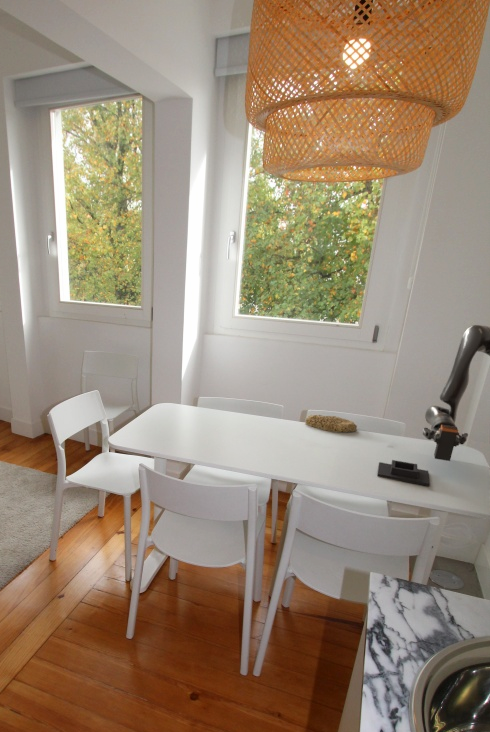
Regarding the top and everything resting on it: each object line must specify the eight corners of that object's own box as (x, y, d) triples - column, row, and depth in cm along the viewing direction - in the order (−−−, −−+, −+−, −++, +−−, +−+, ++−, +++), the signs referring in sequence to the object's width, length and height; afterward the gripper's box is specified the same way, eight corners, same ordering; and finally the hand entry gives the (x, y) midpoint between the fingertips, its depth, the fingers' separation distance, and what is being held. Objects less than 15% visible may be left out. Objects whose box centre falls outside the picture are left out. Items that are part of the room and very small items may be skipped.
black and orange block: (449, 456, 162) (456, 426, 158) (450, 461, 159) (458, 430, 155) (433, 454, 164) (441, 424, 160) (434, 458, 161) (442, 428, 157)
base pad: (427, 473, 168) (429, 464, 167) (428, 486, 158) (431, 476, 157) (378, 464, 175) (380, 455, 173) (377, 476, 165) (379, 467, 163)
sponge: (303, 432, 210) (348, 436, 196) (303, 414, 209) (349, 417, 195) (315, 429, 219) (359, 433, 206) (316, 413, 218) (360, 415, 205)
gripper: (423, 415, 173) (425, 428, 158) (469, 421, 167) (475, 435, 152) (419, 434, 175) (420, 449, 161) (463, 441, 169) (469, 456, 155)
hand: (447, 442), depth 157 cm, fingers closed on black and orange block, 4 cm apart
